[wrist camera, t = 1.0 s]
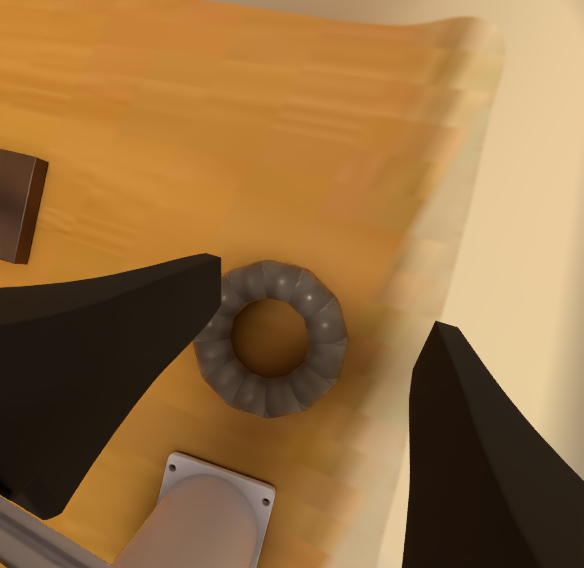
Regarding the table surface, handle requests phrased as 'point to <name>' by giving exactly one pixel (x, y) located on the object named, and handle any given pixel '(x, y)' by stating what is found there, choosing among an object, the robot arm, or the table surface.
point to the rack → (19, 203)
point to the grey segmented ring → (319, 357)
